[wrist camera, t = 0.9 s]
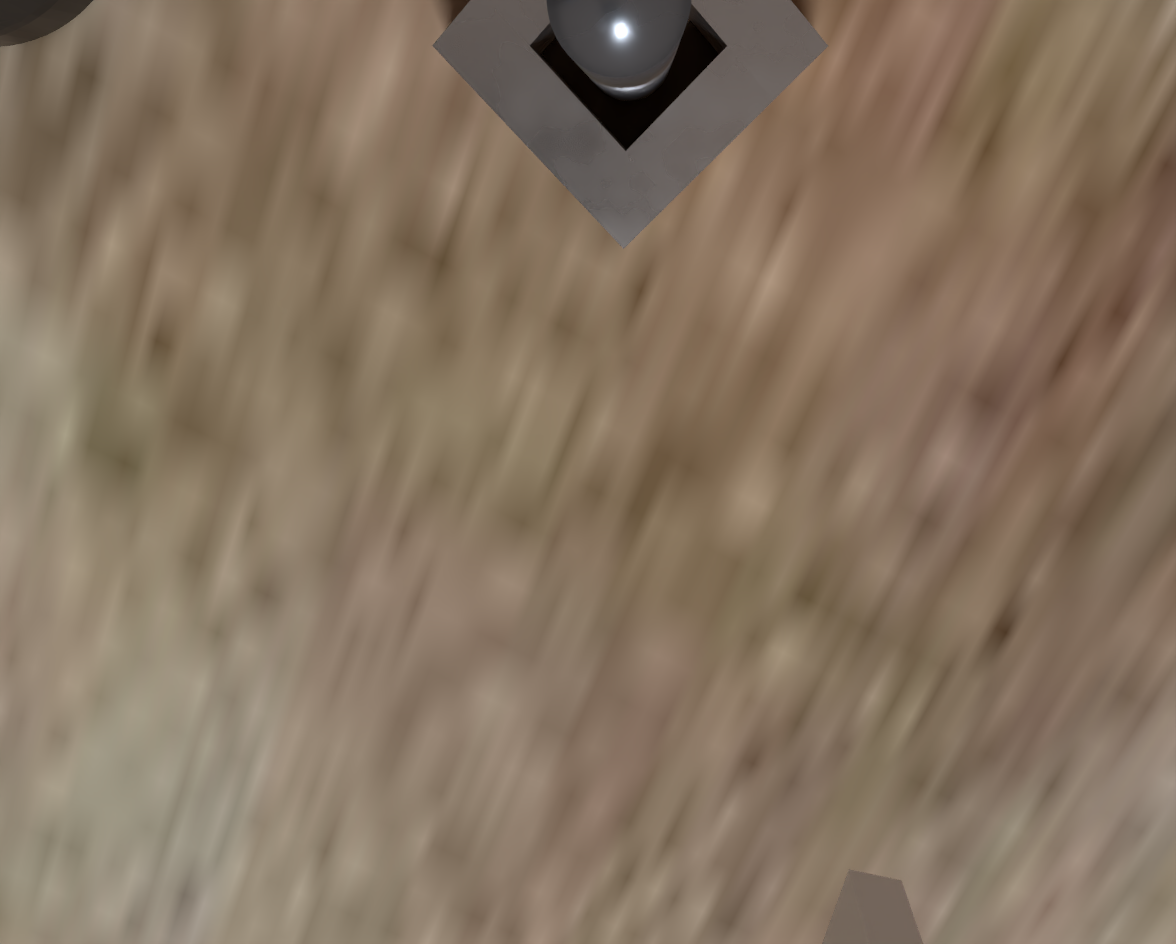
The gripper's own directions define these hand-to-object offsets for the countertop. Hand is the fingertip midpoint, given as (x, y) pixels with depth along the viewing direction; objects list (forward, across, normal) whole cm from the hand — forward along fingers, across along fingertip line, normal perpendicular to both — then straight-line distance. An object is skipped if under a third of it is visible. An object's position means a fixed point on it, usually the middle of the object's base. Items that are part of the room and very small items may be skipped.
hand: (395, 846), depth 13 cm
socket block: (+27, 0, +14) cm, 31 cm away
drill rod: (+27, 0, +14) cm, 31 cm away
